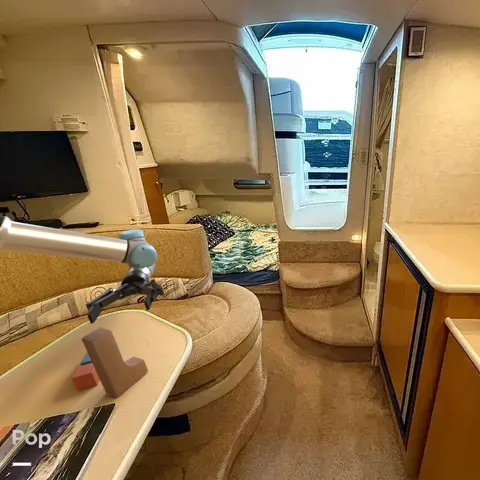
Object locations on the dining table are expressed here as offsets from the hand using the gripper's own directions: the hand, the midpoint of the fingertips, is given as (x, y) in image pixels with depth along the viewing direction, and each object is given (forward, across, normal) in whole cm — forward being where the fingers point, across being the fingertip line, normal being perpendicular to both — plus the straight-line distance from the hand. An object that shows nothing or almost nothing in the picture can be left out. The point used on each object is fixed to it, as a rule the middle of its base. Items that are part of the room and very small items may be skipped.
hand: (119, 312), depth 76 cm
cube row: (-1, +10, -16) cm, 19 cm away
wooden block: (+10, 0, -17) cm, 19 cm away
